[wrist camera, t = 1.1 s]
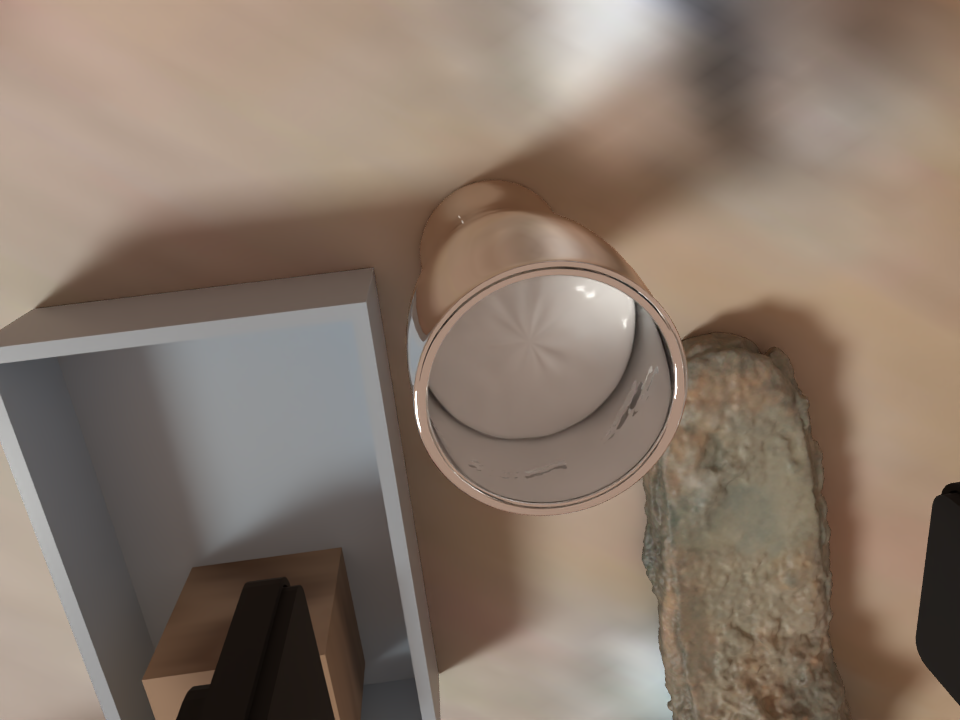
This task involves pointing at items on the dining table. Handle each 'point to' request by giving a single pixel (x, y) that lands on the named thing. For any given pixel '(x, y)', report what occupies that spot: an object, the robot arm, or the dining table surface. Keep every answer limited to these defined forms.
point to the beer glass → (537, 356)
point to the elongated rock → (742, 544)
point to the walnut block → (209, 613)
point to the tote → (216, 465)
